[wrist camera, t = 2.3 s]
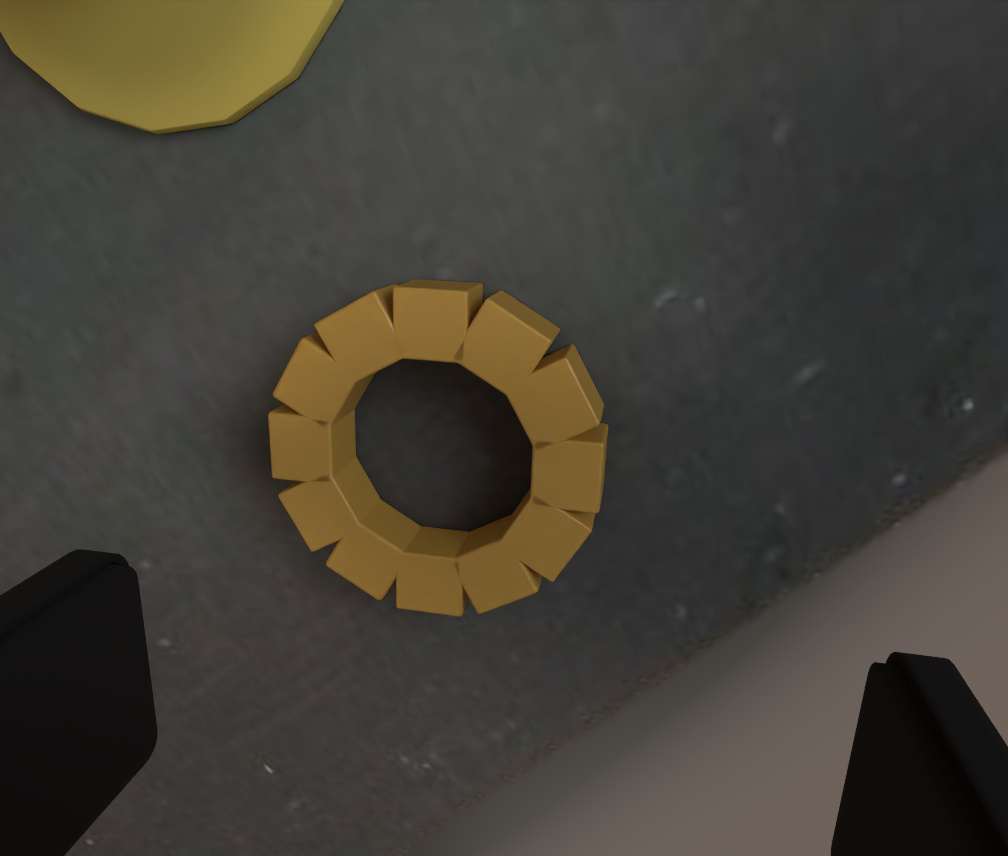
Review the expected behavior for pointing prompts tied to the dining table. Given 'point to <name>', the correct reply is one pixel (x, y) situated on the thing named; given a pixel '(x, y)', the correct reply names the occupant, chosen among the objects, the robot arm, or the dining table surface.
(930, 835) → the robot arm
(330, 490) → the ring
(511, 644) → the dining table surface
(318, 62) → the dining table surface
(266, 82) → the candle
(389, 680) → the dining table surface
